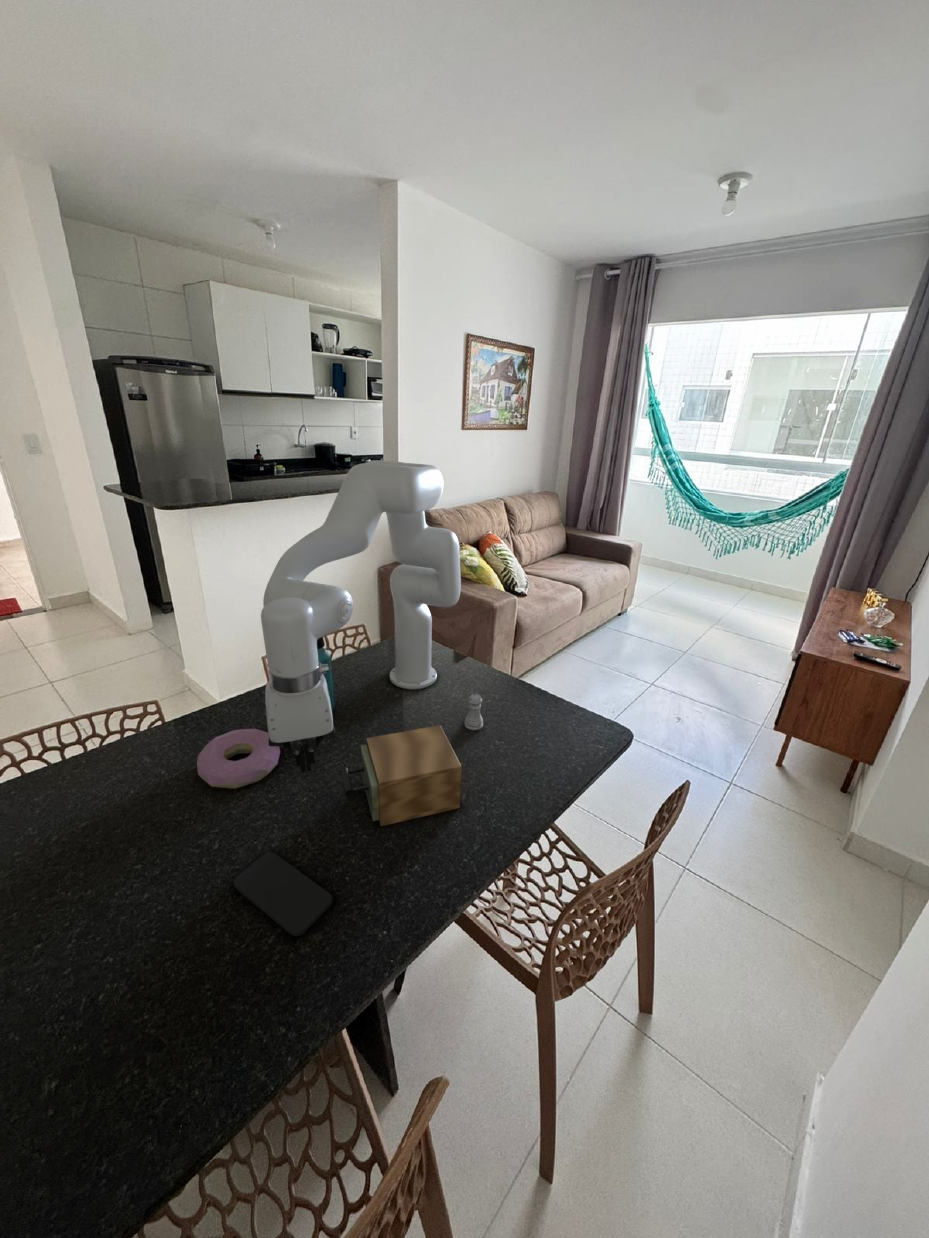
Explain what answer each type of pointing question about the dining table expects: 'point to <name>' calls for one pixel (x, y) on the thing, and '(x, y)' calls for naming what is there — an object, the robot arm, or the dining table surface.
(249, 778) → the donut
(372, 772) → the drawer
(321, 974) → the dining table surface
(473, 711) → the rook chess piece
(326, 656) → the beverage bottle
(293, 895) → the phone
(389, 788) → the cabinet
